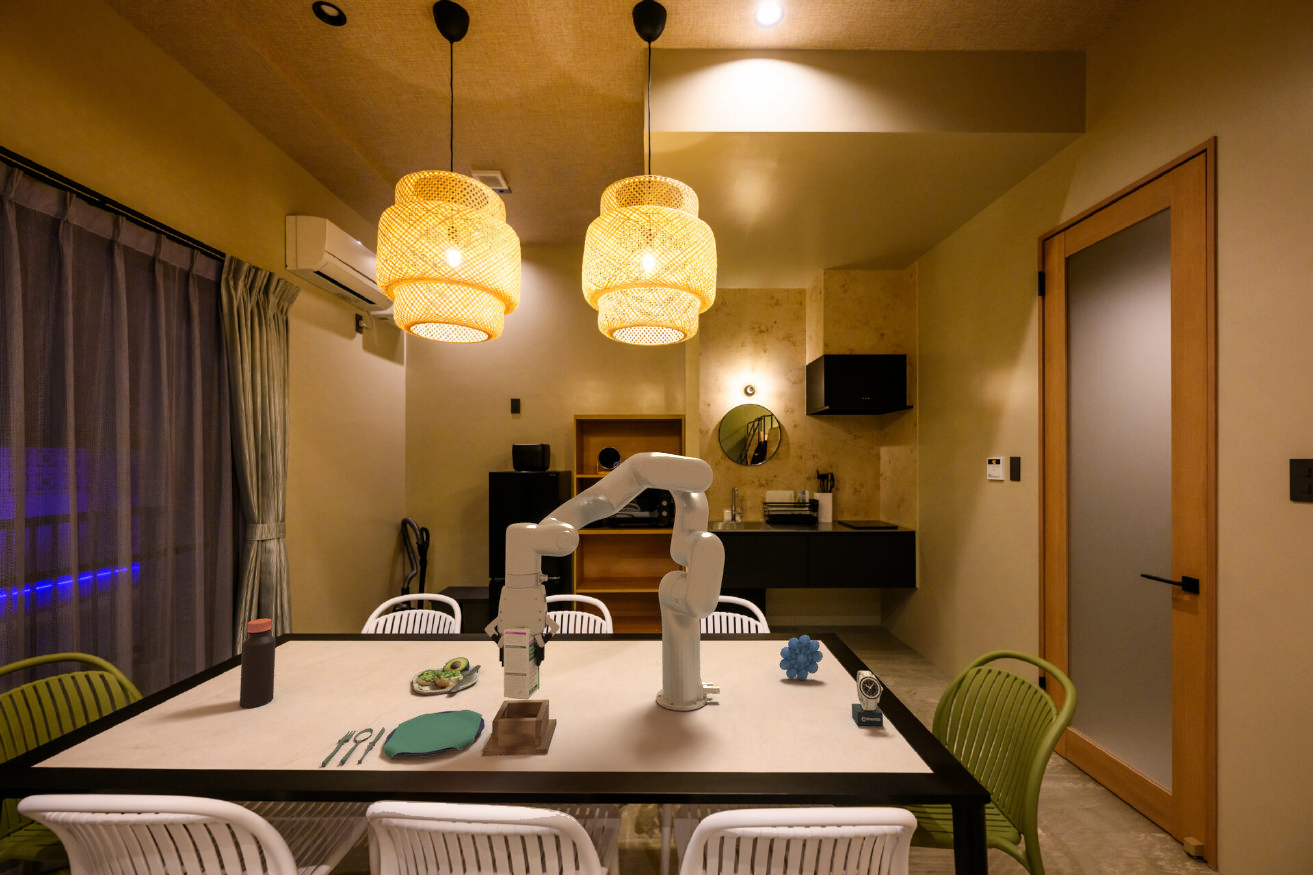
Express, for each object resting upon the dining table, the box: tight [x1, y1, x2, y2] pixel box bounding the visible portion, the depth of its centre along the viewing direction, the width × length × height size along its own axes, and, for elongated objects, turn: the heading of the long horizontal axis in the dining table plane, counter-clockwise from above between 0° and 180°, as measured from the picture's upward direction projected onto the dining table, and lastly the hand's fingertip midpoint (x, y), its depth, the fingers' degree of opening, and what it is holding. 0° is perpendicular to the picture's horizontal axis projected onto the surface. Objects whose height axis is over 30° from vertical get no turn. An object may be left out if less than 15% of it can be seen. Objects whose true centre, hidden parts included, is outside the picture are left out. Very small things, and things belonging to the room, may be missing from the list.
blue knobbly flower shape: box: [779, 634, 824, 681], centre depth 146 cm, size 12×7×12 cm, turn 84°
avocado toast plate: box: [412, 656, 482, 696], centre depth 144 cm, size 19×18×5 cm
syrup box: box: [503, 628, 540, 700], centre depth 115 cm, size 6×6×14 cm
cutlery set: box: [321, 709, 485, 768], centre depth 114 cm, size 20×30×2 cm, turn 100°
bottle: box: [239, 618, 276, 709], centre depth 133 cm, size 7×7×20 cm
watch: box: [851, 670, 884, 728], centre depth 121 cm, size 6×8×11 cm
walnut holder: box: [481, 698, 557, 757], centre depth 114 cm, size 13×13×6 cm
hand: (521, 663), depth 115 cm, fingers closed on syrup box, 6 cm apart
